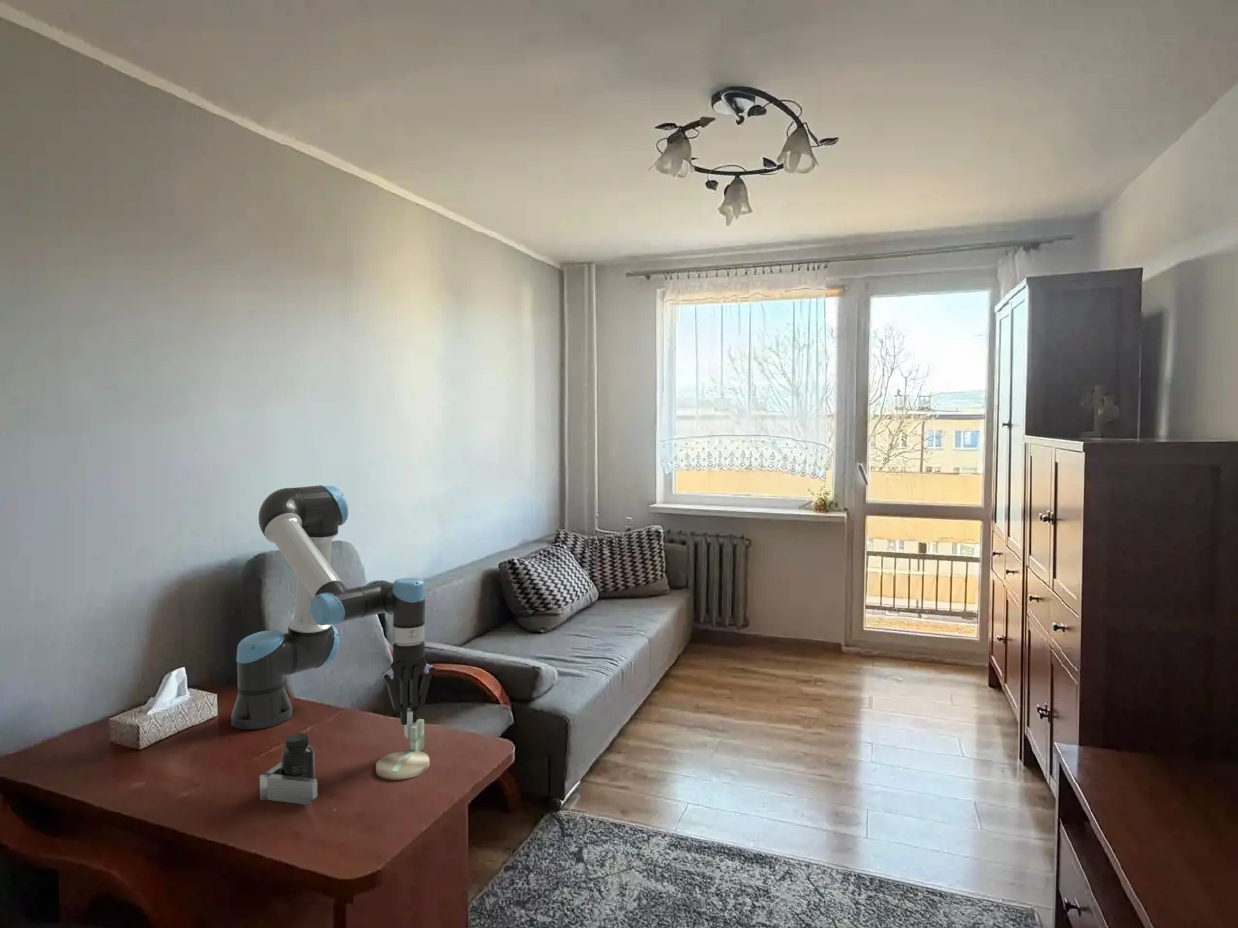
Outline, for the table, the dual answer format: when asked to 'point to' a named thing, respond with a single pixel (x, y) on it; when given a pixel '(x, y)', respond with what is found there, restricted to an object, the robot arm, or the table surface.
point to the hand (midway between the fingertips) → (408, 736)
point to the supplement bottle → (298, 757)
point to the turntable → (406, 758)
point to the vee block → (287, 787)
